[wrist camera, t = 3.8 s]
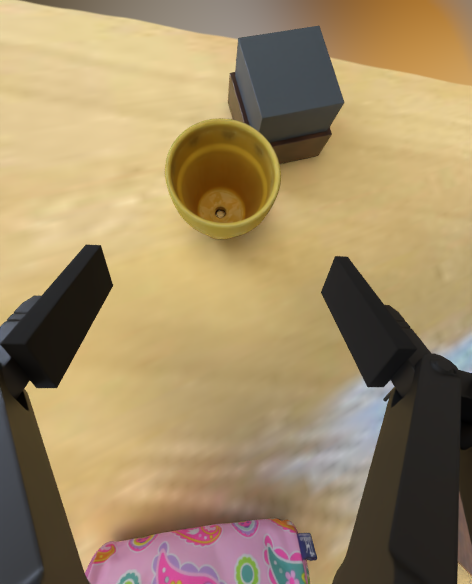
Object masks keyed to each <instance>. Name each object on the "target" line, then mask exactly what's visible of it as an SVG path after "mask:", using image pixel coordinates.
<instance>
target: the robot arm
mask: <svg viewBox="0 0 472 584" xmlns="http://www.w3.org/2000/svg"><path fill="white" fill-rule="evenodd" d="M112 287H113V284H112V280H111V277H110V274H109V271H108V267H107V264H106V261H105V257H104V254H103V251H102V247H101V245H85V246H84V248H83V249H82V250H81V251H80V252H79V253H78V254H77V256H76V257H75V258H74V259H73V260H72V261H71V263H70V264H69V265H68V266H67V267H66V268H65V269H64V271H63V272H62V273H61V274H60V275H59V276H58V277H57V279H56V280H55V281H54V282H53V283H52V284H51V286H50V287H49V288H48V289H47V290H46V291H45V292H44V294H43V295H42V296H33V297H31V298H30V299H28V300H27V301H25V302H23V303H22V304H21V305H20V306H19V307H18V308H17V309H16V310H15V312H14V314H12V315H11V316H10V317H9V318H8V319H7V321H5V322H4V323H3V324H2V326H1V327H0V584H90V582H89V581H88V579H87V577H86V575H85V573H84V570H83V567H82V564H81V561H80V558H79V554H78V551H77V548H76V545H75V542H74V538H73V535H72V532H71V529H70V526H69V523H68V519H67V516H66V513H65V510H64V507H63V504H62V500H61V497H60V494H59V491H58V488H57V485H56V481H55V478H54V475H53V472H52V469H51V466H50V462H49V459H48V456H47V453H46V450H45V447H44V443H43V440H42V437H41V434H40V431H39V427H38V424H37V421H36V418H35V415H34V412H33V408H32V405H31V402H30V399H29V396H28V393H27V392H26V390H25V389H24V388H25V387H26V385H27V384H28V382H29V381H31V382H32V383H33V384H34V386H35V387H36V388H57V387H58V385H59V383H60V382H61V380H62V378H63V376H64V374H65V372H66V371H67V369H68V367H69V365H70V363H71V361H72V360H73V358H74V356H75V354H76V352H77V351H78V349H79V347H80V345H81V343H82V341H83V340H84V338H85V336H86V334H87V332H88V330H89V329H90V327H91V325H92V323H93V321H94V320H95V318H96V316H97V314H98V312H99V310H100V309H101V307H102V305H103V303H104V301H105V299H106V298H107V296H108V294H109V292H110V290H111V289H112ZM321 293H322V296H323V298H324V300H325V302H326V304H327V306H328V308H329V310H330V312H331V314H332V316H333V318H334V320H335V322H336V324H337V326H338V328H339V330H340V332H341V334H342V336H343V338H344V340H345V342H346V344H347V346H348V348H349V350H350V352H351V354H352V356H353V358H354V360H355V362H356V364H357V367H358V369H359V371H360V373H361V375H362V377H363V379H364V381H365V383H366V385H367V387H384V386H385V385H386V384H387V383H388V382H389V381H390V380H391V381H392V383H393V385H394V386H395V387H394V388H393V389H392V390H391V391H390V392H389V393H388V394H387V395H386V397H385V398H384V399H383V400H384V401H385V402H386V401H387V400H388V399H389V401H388V404H387V408H386V412H385V415H384V419H383V423H382V426H381V430H380V434H379V437H378V441H377V445H376V448H375V452H374V456H373V459H372V463H371V467H370V470H369V474H368V478H367V481H366V485H365V488H364V492H363V496H362V499H361V503H360V507H359V510H358V514H357V518H356V521H355V525H354V529H353V532H352V536H351V540H350V543H349V547H348V551H347V554H346V557H345V559H344V561H343V563H342V564H341V566H340V567H339V569H338V570H337V573H336V575H335V577H334V580H333V583H332V584H457V570H458V521H459V492H460V496H461V501H462V505H463V510H464V514H465V518H466V523H467V527H468V532H469V536H470V540H471V545H472V373H468V372H465V371H461V370H458V368H457V367H456V366H455V365H454V364H453V363H452V362H451V361H449V360H448V359H446V358H444V357H443V356H440V355H437V354H432V353H431V352H430V351H429V350H428V349H427V347H426V346H425V345H424V344H423V342H422V341H421V340H420V339H419V337H418V336H417V335H416V334H415V332H414V331H413V330H412V329H410V326H409V325H408V324H407V322H405V320H404V318H403V317H402V316H401V315H400V313H399V312H397V311H396V310H395V309H394V308H392V307H391V306H390V305H384V304H383V303H382V302H381V300H380V299H379V298H378V296H377V295H376V294H375V292H374V291H373V290H372V288H371V287H370V286H369V284H368V283H367V282H366V280H365V279H364V278H363V276H362V275H361V274H360V272H359V271H358V270H357V269H356V267H355V266H354V265H353V263H352V262H351V261H350V259H349V258H348V257H340V256H335V258H334V260H333V263H332V266H331V268H330V271H329V273H328V276H327V278H326V281H325V284H324V286H323V289H322V291H321Z"/></svg>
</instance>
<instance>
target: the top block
mask: <svg viewBox="0 0 472 584" xmlns="http://www.w3.org/2000/svg"><path fill="white" fill-rule="evenodd" d="M235 77H236V81H237V84H238V87H239V91H240V94H241V97H242V101H243V104H244V108H245V111H246V114H247V118H248V121H249V125H250V126H251V127H253V128H254V129H256V130H257V131H258V132H260V133H261V134H262V135H263V136H264V137H265V138H266V139H267V140H268V142H269V143H271V142H276V141H281V140H286V139H290V138H295V137H300V136H305V135H310V134H315V133H320V132H325V131H327V130H328V129H329V127H330V125H331V124H332V122H333V120H334V119H335V117H336V115H337V114H338V112H339V111H340V109H341V107H342V106H343V104H344V100H343V97H342V94H341V91H340V88H339V84H338V81H337V78H336V75H335V72H334V69H333V66H332V63H331V60H330V57H329V54H328V51H327V48H326V45H325V42H324V39H323V36H322V33H321V30H320V26H314V27H307V28H302V29H294V30H288V31H281V32H275V33H268V34H262V35H256V36H249V37H242V38H238V47H237V59H236V70H235Z"/></svg>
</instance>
